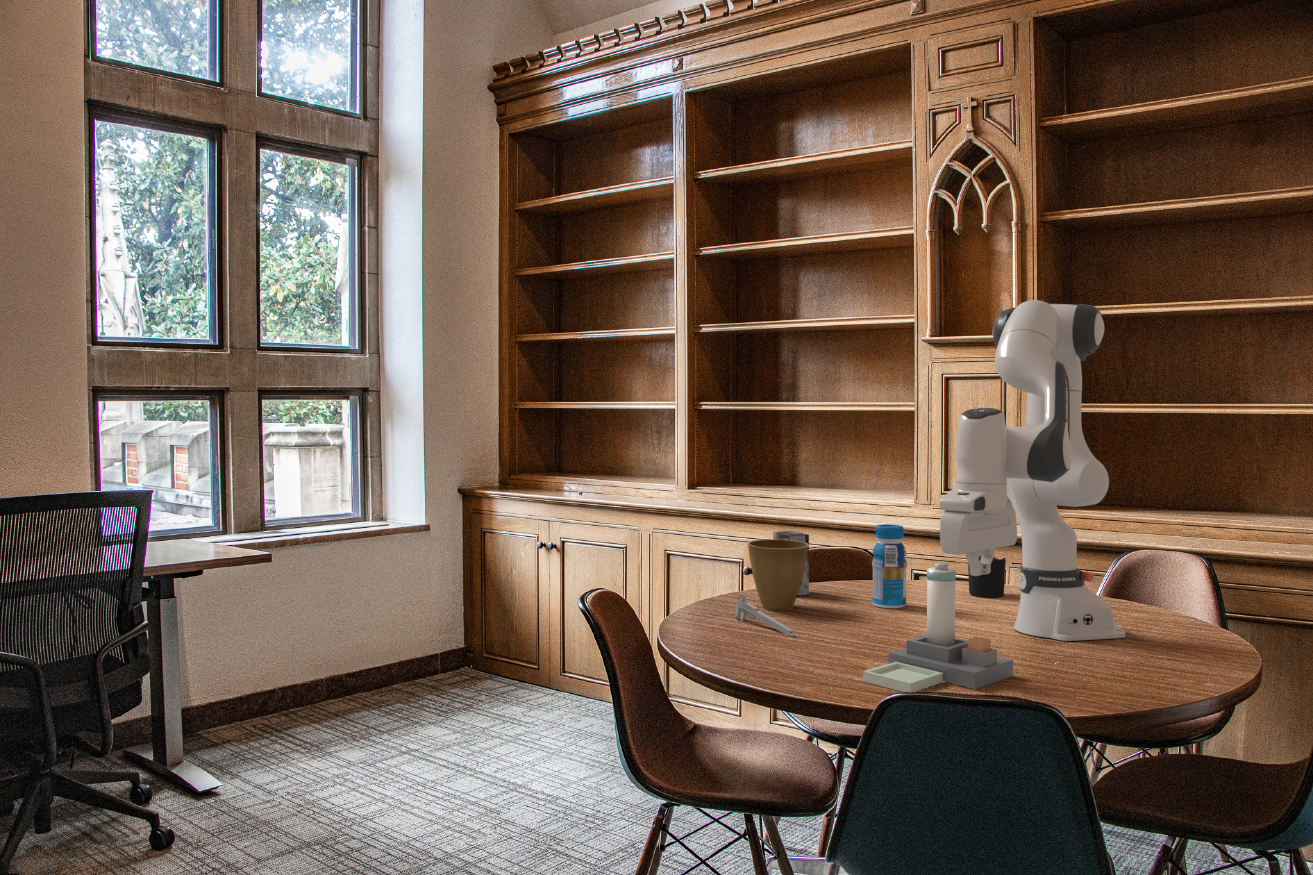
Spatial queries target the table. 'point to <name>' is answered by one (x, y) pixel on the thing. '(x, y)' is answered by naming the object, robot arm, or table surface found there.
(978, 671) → the housing
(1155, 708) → the table surface
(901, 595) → the beverage bottle
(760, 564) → the plant pot
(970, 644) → the plunger
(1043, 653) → the table surface
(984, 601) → the table surface
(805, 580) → the coffee box
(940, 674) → the tray
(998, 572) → the pen holder
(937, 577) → the cartridge
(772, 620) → the caliper
